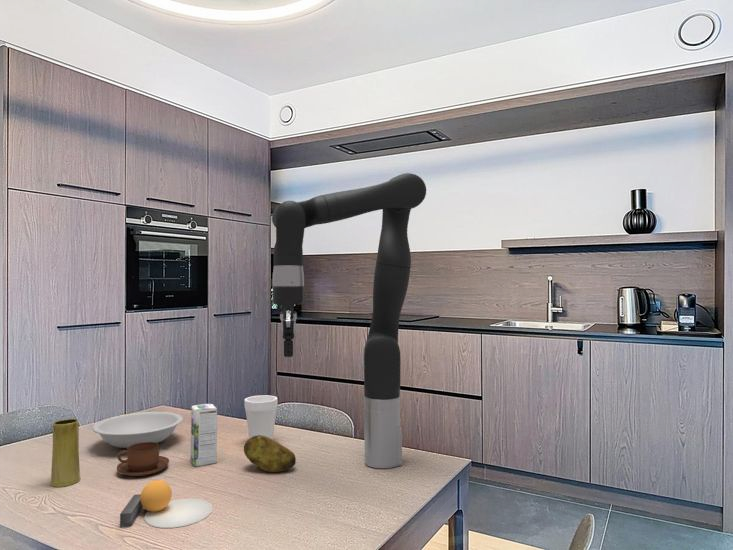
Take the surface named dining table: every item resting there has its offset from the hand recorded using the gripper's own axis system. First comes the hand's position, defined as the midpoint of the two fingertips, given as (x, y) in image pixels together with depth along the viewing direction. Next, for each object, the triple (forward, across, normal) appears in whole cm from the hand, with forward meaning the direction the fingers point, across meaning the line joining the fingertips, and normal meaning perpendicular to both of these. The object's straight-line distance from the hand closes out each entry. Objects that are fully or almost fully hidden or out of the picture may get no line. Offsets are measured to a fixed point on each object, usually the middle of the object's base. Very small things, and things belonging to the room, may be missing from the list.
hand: (288, 356), depth 124 cm
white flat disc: (+29, -16, +22) cm, 40 cm away
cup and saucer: (+30, +10, +36) cm, 48 cm away
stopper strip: (+29, -16, +31) cm, 45 cm away
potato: (+29, +6, +5) cm, 30 cm away
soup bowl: (+29, +32, +43) cm, 61 cm away
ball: (+26, -14, +27) cm, 40 cm away
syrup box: (+29, +14, +22) cm, 39 cm away
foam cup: (+29, +27, +8) cm, 41 cm away
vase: (+29, +5, +52) cm, 60 cm away
